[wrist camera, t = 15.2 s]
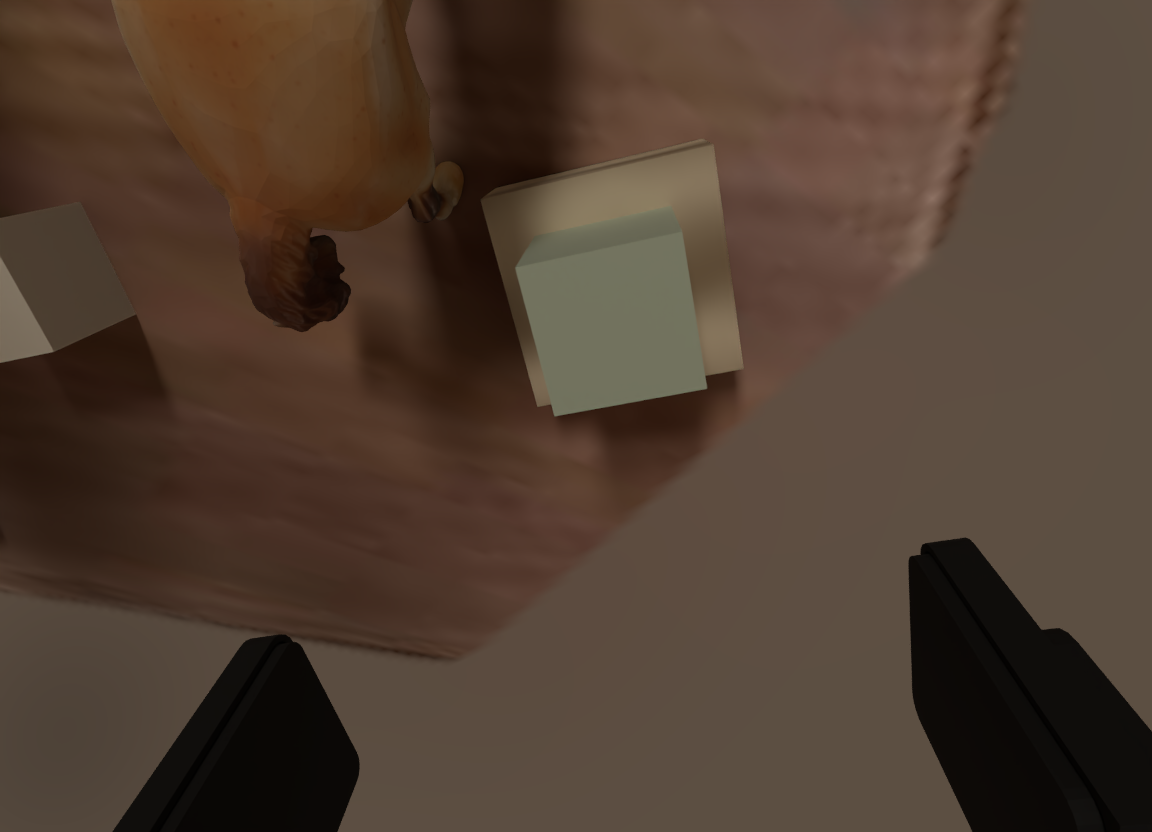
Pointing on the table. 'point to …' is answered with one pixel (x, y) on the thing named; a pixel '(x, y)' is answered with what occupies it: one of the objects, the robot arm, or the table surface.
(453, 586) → the table surface
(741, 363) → the base brick
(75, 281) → the cream block
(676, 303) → the green block
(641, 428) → the table surface
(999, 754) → the robot arm
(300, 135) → the horse figurine
